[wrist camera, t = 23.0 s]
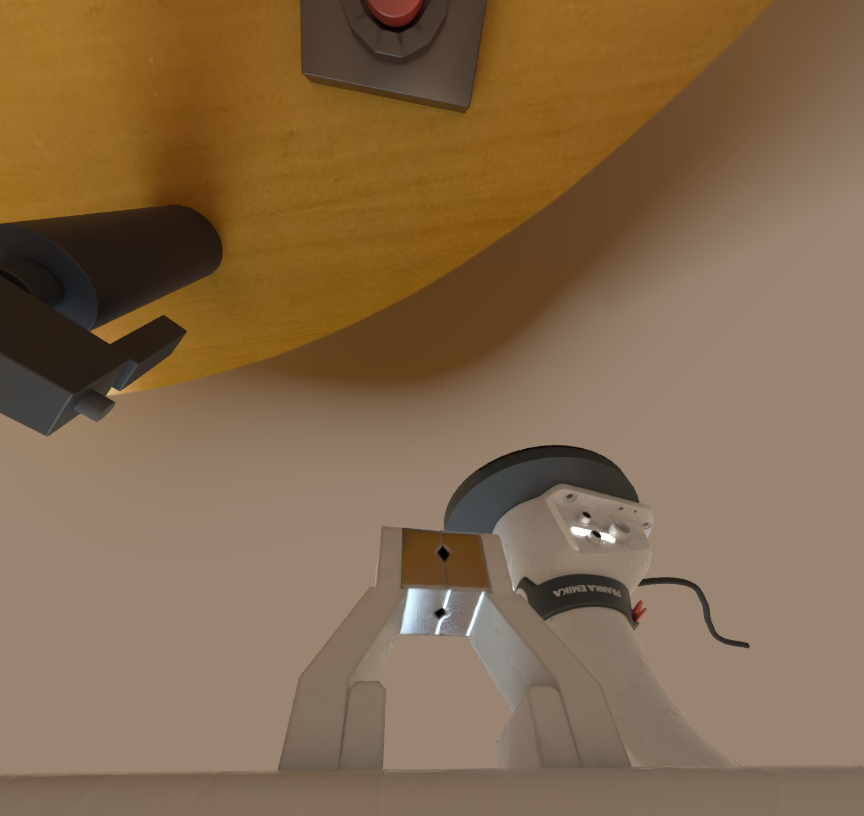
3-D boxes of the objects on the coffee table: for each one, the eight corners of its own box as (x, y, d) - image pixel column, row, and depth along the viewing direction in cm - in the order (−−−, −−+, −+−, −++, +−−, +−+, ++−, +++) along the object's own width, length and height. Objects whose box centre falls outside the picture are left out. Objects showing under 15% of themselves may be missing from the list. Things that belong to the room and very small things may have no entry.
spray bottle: (273, 275, 35) (110, 388, 16) (239, 319, 38) (59, 465, 18) (170, 188, 31) (-206, 202, 12) (138, 242, 34) (-228, 327, 14)
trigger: (187, 331, 25) (138, 364, 20) (170, 355, 26) (119, 392, 21) (163, 314, 24) (107, 344, 20) (146, 339, 25) (89, 374, 20)
